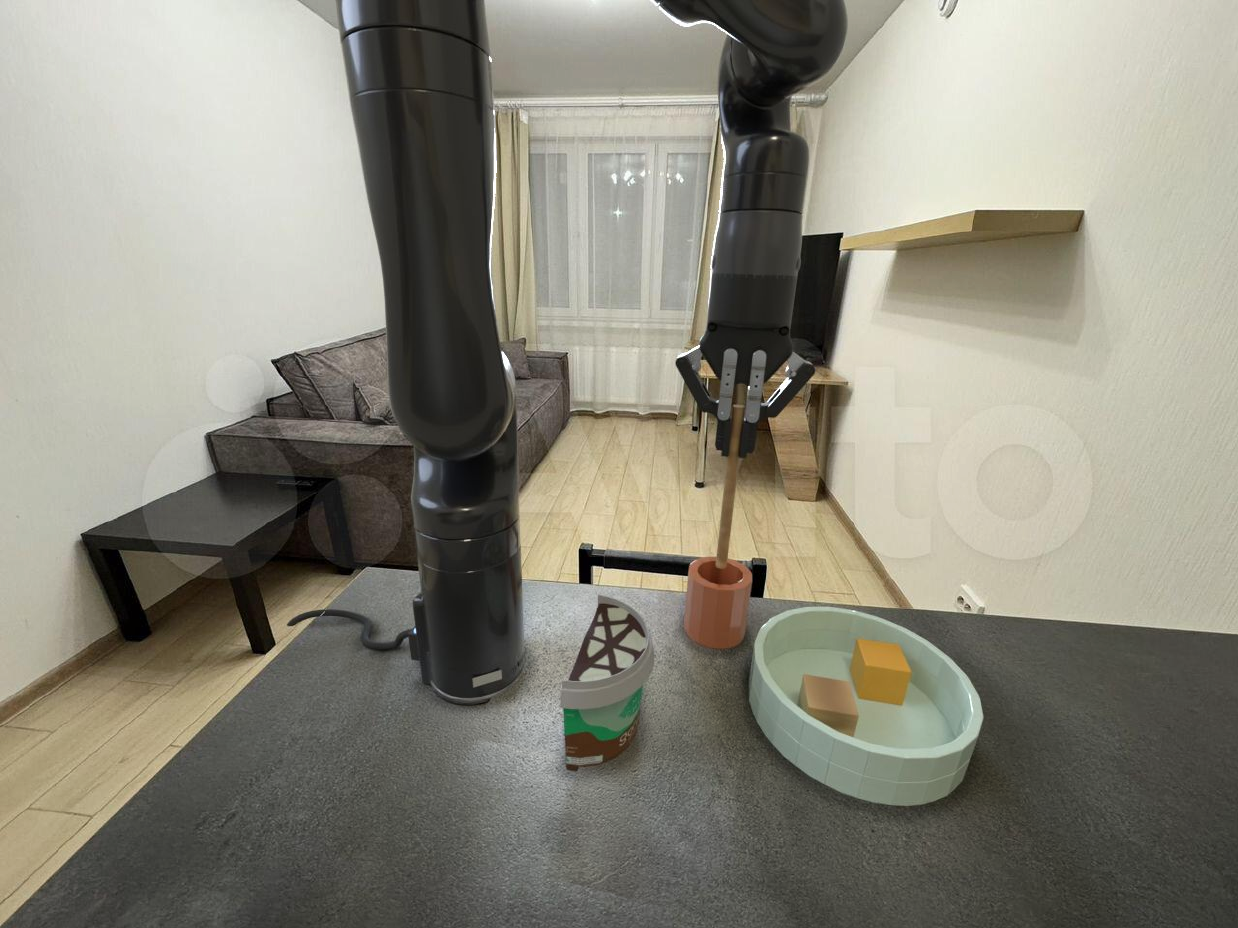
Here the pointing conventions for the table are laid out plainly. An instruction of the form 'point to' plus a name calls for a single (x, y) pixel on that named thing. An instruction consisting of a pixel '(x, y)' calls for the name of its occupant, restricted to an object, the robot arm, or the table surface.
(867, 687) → the mustard block
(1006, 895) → the table surface
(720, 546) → the stirring stick
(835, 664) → the bowl
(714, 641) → the cup
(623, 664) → the food container
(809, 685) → the pine block
